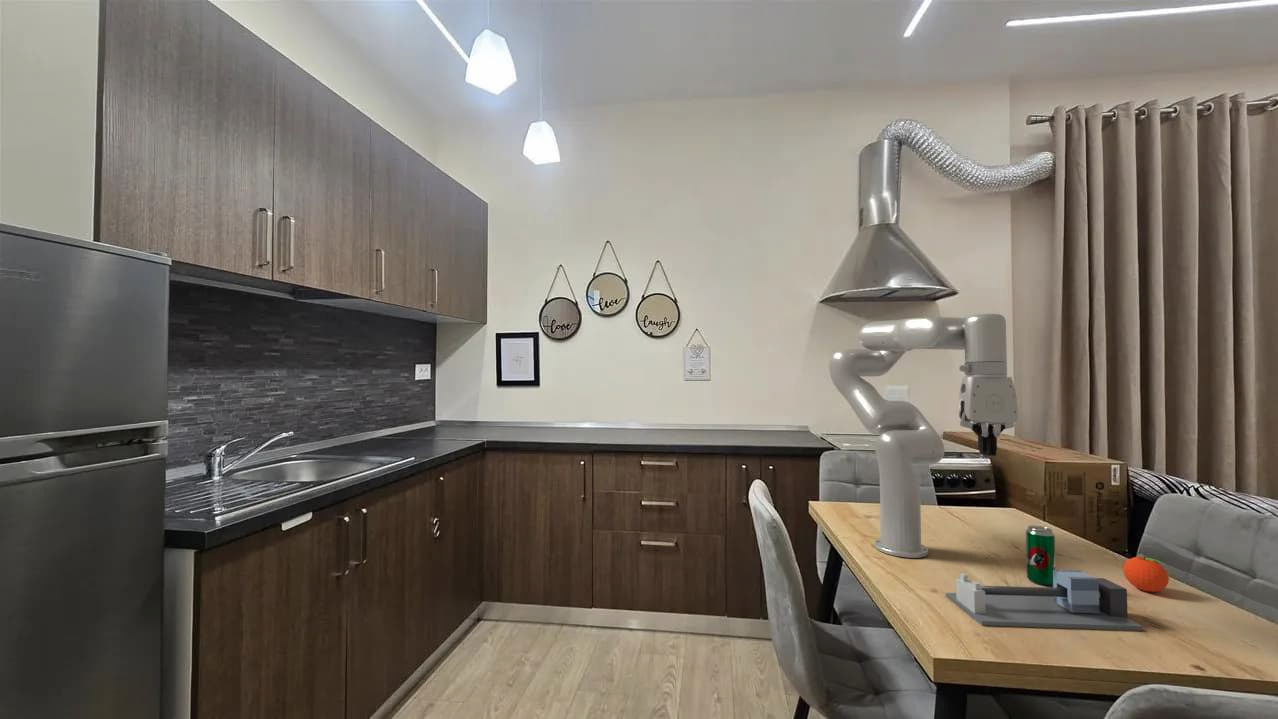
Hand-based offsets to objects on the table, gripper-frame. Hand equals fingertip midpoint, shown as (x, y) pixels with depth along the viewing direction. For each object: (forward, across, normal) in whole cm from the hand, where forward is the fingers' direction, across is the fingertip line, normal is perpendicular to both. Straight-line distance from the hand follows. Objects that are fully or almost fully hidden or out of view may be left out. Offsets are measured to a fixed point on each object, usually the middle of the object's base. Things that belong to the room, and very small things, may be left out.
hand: (987, 454), depth 107 cm
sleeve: (+28, +10, -10) cm, 31 cm away
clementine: (+29, +34, +2) cm, 45 cm away
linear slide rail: (+29, +3, -10) cm, 31 cm away
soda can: (+29, +14, +5) cm, 33 cm away
